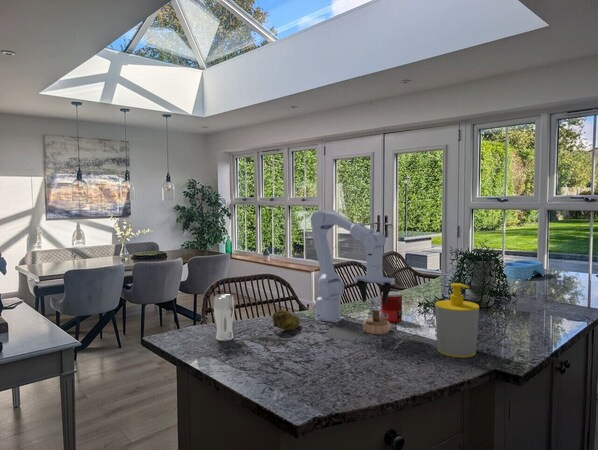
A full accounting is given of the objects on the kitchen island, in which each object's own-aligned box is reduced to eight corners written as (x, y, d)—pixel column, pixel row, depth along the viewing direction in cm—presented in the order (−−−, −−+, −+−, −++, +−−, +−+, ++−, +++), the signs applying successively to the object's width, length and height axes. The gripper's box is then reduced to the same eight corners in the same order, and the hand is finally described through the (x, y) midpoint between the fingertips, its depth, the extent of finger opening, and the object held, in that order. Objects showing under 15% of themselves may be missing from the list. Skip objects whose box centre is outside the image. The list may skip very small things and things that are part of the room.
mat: (321, 337, 151) (321, 335, 151) (335, 328, 161) (335, 326, 161) (353, 341, 145) (353, 340, 145) (365, 332, 156) (365, 331, 156)
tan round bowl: (360, 332, 155) (360, 324, 155) (368, 326, 163) (368, 317, 163) (385, 336, 151) (384, 327, 151) (392, 329, 159) (392, 320, 159)
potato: (307, 329, 160) (307, 308, 160) (279, 336, 153) (279, 313, 152) (294, 324, 167) (294, 304, 167) (266, 330, 159) (266, 309, 159)
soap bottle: (474, 361, 126) (475, 289, 125) (429, 353, 133) (430, 285, 132) (482, 348, 137) (482, 282, 136) (440, 341, 144) (440, 278, 143)
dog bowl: (522, 282, 247) (523, 267, 247) (491, 277, 263) (492, 264, 262) (551, 275, 267) (551, 262, 266) (520, 271, 282) (520, 259, 282)
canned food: (402, 323, 166) (402, 295, 165) (381, 322, 168) (381, 294, 167) (401, 318, 174) (401, 291, 173) (381, 317, 175) (381, 290, 175)
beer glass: (238, 336, 153) (237, 294, 152) (228, 342, 147) (227, 298, 146) (220, 334, 155) (219, 293, 155) (210, 340, 149) (209, 297, 148)
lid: (362, 323, 155) (362, 311, 155) (370, 318, 162) (370, 307, 162) (382, 326, 151) (382, 314, 151) (389, 321, 158) (389, 309, 157)
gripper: (351, 265, 157) (351, 302, 158) (390, 268, 150) (390, 306, 151) (358, 263, 163) (358, 298, 164) (396, 265, 156) (396, 302, 157)
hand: (374, 302), depth 158 cm, fingers open, 7 cm apart
